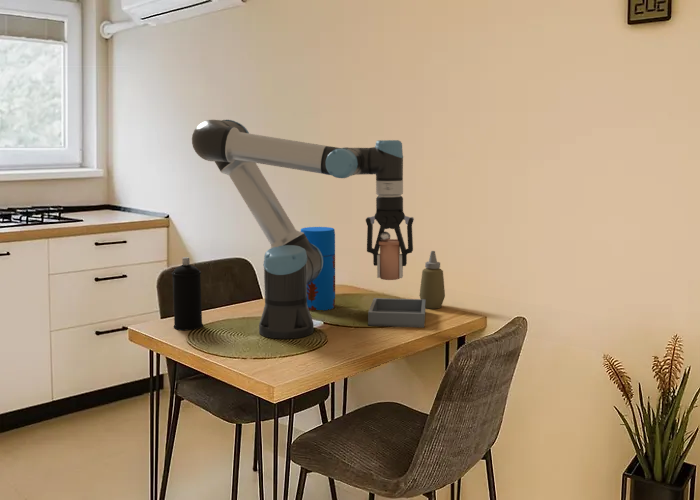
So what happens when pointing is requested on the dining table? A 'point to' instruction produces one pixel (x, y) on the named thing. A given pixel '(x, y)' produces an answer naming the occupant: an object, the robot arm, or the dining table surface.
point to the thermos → (324, 284)
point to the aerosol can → (187, 297)
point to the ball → (385, 236)
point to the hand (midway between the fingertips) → (390, 276)
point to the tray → (397, 312)
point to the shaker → (389, 259)
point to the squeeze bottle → (432, 283)
